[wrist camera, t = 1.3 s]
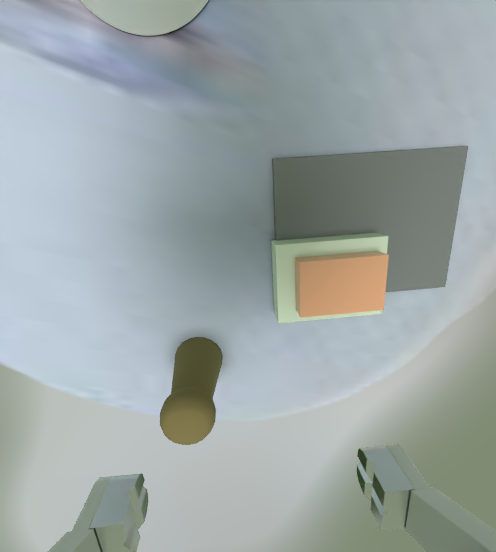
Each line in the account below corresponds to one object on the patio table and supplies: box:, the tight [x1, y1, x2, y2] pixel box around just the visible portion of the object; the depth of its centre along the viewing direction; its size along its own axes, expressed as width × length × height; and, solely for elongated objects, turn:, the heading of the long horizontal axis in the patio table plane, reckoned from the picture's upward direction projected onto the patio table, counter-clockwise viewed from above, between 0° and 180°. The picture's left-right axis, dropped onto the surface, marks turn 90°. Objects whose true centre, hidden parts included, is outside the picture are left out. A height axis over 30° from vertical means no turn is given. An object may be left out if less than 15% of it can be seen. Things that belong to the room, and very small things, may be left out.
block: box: [295, 251, 389, 318], centre depth 28 cm, size 6×9×2 cm, turn 94°
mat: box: [272, 146, 468, 292], centre depth 30 cm, size 16×21×1 cm
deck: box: [271, 233, 388, 323], centre depth 30 cm, size 9×12×3 cm
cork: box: [160, 337, 222, 445], centre depth 29 cm, size 6×6×11 cm
